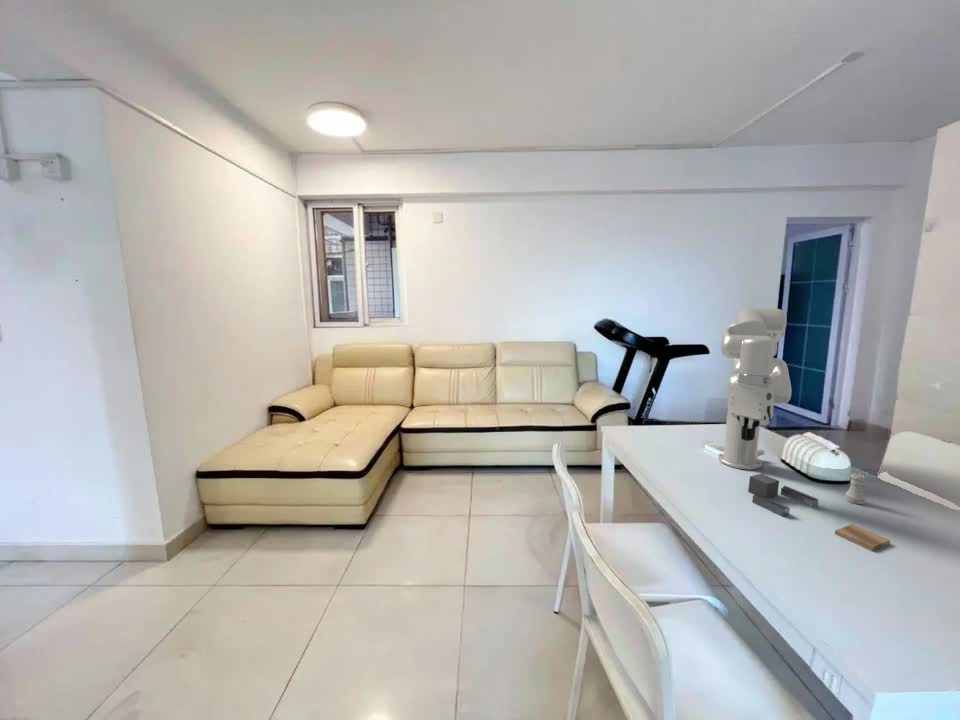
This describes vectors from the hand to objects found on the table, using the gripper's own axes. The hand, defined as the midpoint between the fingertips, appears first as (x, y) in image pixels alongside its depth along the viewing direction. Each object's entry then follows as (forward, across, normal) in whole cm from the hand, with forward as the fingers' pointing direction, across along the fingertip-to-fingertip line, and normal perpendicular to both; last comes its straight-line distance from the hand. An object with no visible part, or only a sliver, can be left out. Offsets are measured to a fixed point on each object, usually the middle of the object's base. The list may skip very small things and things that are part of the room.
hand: (747, 439), depth 116 cm
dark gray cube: (+15, -6, 0) cm, 16 cm away
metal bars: (+15, -12, 0) cm, 19 cm away
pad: (+15, -29, 0) cm, 32 cm away
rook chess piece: (+15, -18, -20) cm, 31 cm away
